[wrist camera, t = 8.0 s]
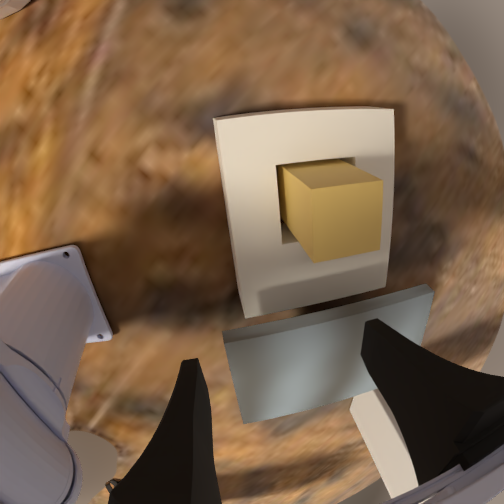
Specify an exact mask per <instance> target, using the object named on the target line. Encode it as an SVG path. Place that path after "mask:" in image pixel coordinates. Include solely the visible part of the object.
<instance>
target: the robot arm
mask: <svg viewBox="0 0 504 504" xmlns="http://www.w3.org/2000/svg"><path fill="white" fill-rule="evenodd" d="M65 252H68V253H69V256H67V255H65ZM99 334H101V335H103V336H100V335H99ZM112 336H113V332H112V330H111V328H110V325H109V323H108V321H107V319H106V316H105V314H104V312H103V309H102V307H101V304H100V302H99V299H98V297H97V295H96V292H95V289H94V287H93V284H92V282H91V279H90V276H89V274H88V271H87V268H86V266H85V263H84V260H83V257H82V254H81V251H80V249H79V248H78V247H77V246H76V245H69V246H64V247H60V248H55V249H51V250H47V251H42V252H38V253H34V254H30V255H25V256H21V257H17V258H13V259H9V260H5V261H1V262H0V504H75V502H76V500H77V499H78V496H79V494H80V490H81V487H82V467H81V463H80V460H79V458H78V456H77V454H76V452H75V451H74V449H73V448H72V447H71V446H70V445H69V444H68V443H67V439H68V435H69V430H70V426H69V425H68V423H67V422H66V419H65V415H66V410H67V406H68V402H69V398H70V395H71V391H72V387H73V384H74V380H75V377H76V373H77V370H78V366H79V363H80V360H81V356H82V353H83V350H84V347H85V344H86V343H91V342H100V341H108V340H111V339H112ZM360 355H361V357H362V359H363V362H364V364H365V366H366V369H367V371H368V373H369V375H370V376H371V378H372V380H373V381H374V383H375V385H376V386H377V388H378V390H379V391H380V393H381V394H382V396H383V398H384V399H385V401H386V403H387V404H388V406H389V408H390V409H391V411H392V413H393V415H394V417H395V419H396V422H397V424H398V426H399V428H400V431H401V433H402V436H403V438H404V441H405V443H406V446H407V449H408V452H409V455H410V458H411V461H412V464H413V467H414V471H415V474H416V478H417V482H418V487H416V488H414V489H412V490H410V491H408V492H406V493H403V494H401V495H399V496H397V497H395V498H392V499H390V500H388V501H385V502H383V503H380V504H419V503H421V502H423V501H425V500H426V501H425V502H423V503H421V504H485V503H487V502H488V501H490V500H491V499H492V498H494V497H495V496H496V495H498V494H499V493H500V492H502V491H503V490H504V377H501V376H495V375H490V374H486V373H482V372H478V371H474V370H471V369H468V368H465V367H462V366H459V365H457V364H454V363H452V362H450V361H448V360H445V359H443V358H441V357H439V356H437V355H435V354H433V353H431V352H429V351H428V350H426V349H424V348H422V347H421V346H419V345H417V344H416V343H414V342H413V341H411V340H409V339H408V338H406V337H405V336H403V335H402V334H400V333H399V332H397V331H396V330H394V329H393V328H391V327H390V326H388V325H387V324H385V323H384V322H382V321H381V320H379V319H378V318H376V319H372V320H369V321H365V326H364V333H363V340H362V347H361V354H360ZM432 496H433V497H432ZM427 499H428V500H427ZM108 504H222V502H221V497H220V492H219V487H218V482H217V477H216V471H215V465H214V457H213V439H212V417H211V406H210V399H209V393H208V388H207V385H206V382H205V379H204V376H203V373H202V369H201V366H200V363H199V360H198V358H195V359H189V360H183V361H182V362H181V366H180V371H179V374H178V378H177V381H176V384H175V387H174V390H173V393H172V396H171V398H170V401H169V404H168V406H167V408H166V411H165V413H164V415H163V418H162V420H161V422H160V424H159V426H158V428H157V430H156V432H155V434H154V435H153V437H152V439H151V441H150V442H149V444H148V445H147V447H146V449H145V450H144V452H143V453H142V455H141V456H140V458H139V459H138V460H137V462H136V463H135V464H134V465H133V467H132V468H131V469H130V471H129V472H128V473H127V474H126V476H125V477H124V478H123V479H122V480H121V481H120V482H119V483H118V484H117V485H116V486H115V487H114V488H113V489H112V491H111V492H110V496H109V501H108Z"/></svg>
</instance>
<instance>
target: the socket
mask: <svg viewBox="0 0 504 504" xmlns="http://www.w3.org/2000/svg"><path fill="white" fill-rule="evenodd" d="M213 122H214V129H215V136H216V144H217V151H218V158H219V165H220V172H221V179H222V186H223V193H224V200H225V207H226V214H227V220H228V227H229V234H230V240H231V247H232V253H233V260H234V266H235V273H236V279H237V286H238V292H239V296H240V300H241V304H242V308H243V312H244V316H245V318H251V317H256V316H261V315H266V314H271V313H276V312H280V311H285V310H290V309H295V308H299V307H304V306H308V305H313V304H317V303H322V302H326V301H331V300H335V299H339V298H343V297H348V296H352V295H356V294H360V293H364V292H368V291H372V290H376V289H380V288H384V287H386V279H387V271H388V262H389V252H390V242H391V229H392V215H393V196H394V160H395V140H394V109H388V108H379V107H370V106H348V107H318V108H300V109H287V110H275V111H264V112H255V113H246V114H238V115H230V116H223V117H216V118H213ZM334 158H338V159H340V160H342V161H344V162H346V163H349V164H351V165H353V166H355V167H357V168H359V169H361V170H363V171H365V172H367V173H369V174H371V175H373V176H376V177H378V178H380V179H381V180H383V206H382V226H381V242H380V250H377V251H372V252H367V253H362V254H357V255H353V256H348V257H343V258H338V259H333V260H328V261H323V262H318V263H313V262H312V260H311V259H310V257H309V256H308V254H307V253H306V252H305V250H304V249H303V247H302V246H301V245H300V243H299V242H298V240H297V239H296V238H295V236H294V235H293V233H292V232H291V231H290V229H289V228H288V227H287V225H286V224H285V223H281V222H280V210H279V198H278V186H277V175H276V165H280V164H288V163H296V162H305V161H314V160H324V159H334Z"/></svg>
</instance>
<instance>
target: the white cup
mask: <svg viewBox="0 0 504 504" xmlns="http://www.w3.org/2000/svg"><path fill="white" fill-rule="evenodd" d="M30 1H31V0H0V19H3V18H5V17H7V16H9V15H11V14H13V13H15V12H17V11H19V10H21V9H22V8H23V7H24V6H25V5H26V4H27V3H28V2H30Z"/></svg>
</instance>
